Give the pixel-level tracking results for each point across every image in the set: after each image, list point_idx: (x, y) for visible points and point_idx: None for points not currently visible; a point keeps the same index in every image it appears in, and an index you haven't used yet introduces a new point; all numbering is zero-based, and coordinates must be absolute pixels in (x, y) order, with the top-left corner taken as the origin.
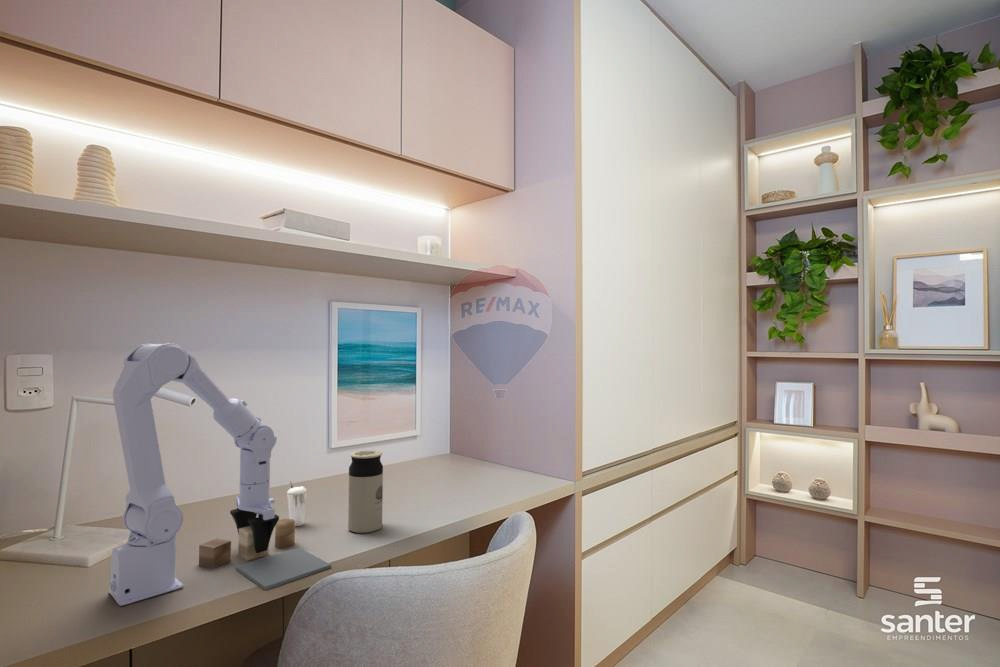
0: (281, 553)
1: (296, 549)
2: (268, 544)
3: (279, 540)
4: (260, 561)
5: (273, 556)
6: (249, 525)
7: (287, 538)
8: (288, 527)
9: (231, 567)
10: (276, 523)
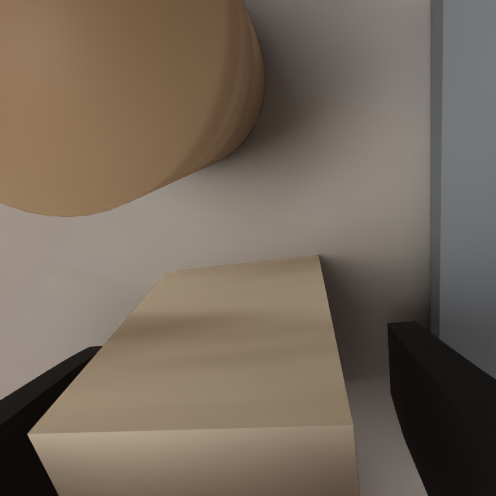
0: (457, 195)
1: (474, 32)
2: (446, 345)
3: (224, 153)
4: (489, 366)
5: (471, 269)
6: (7, 486)
7: (255, 67)
8: (231, 14)
9: (377, 464)
10: (52, 201)
